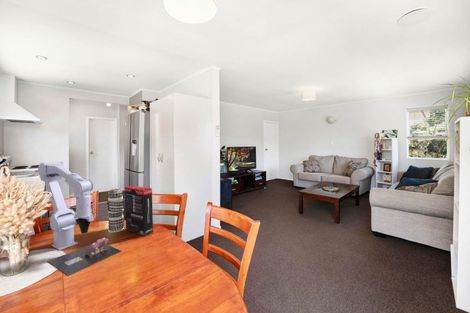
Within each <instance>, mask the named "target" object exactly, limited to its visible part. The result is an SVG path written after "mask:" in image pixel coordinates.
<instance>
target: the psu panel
mask: <svg viewBox="0 0 470 313" xmlns="http://www.w3.org/2000/svg"><path fill="white" fill-rule="evenodd" d="M92 244H93V243H91V244H89V245H86V246H83V247H80V248H78V249H75V250H74V251H70V252H67V253H65V254H63V255H60V256H57V257H54V258H52V259H49V260H47V262H48V264H50V265H52V266H53V267H54V268H57V269H58V270H59V271H60V272H62V273H63V274H65V275H67V276H71V275H73V274H75V273H77V272H80V271H82V270H85V269H86V268H88V267H90V266H91V267H92V265H95V264H98V263H99V262H102V261H104V260H106V259H109V258H111V257H112V256H114V255H117V254H119V253H121V252H122V250H120V249H118V248H115V247H113V246H111V245H109V244H108V243H107V244H106V245H105V246H104V247H103V249H101V250H100V249H99V250H98V251H97V252H96V253H94V252H92V253H91V254H89V255H85V251H86V250H87V249H88V248H89V247H90V246H91V245H92Z"/></svg>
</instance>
